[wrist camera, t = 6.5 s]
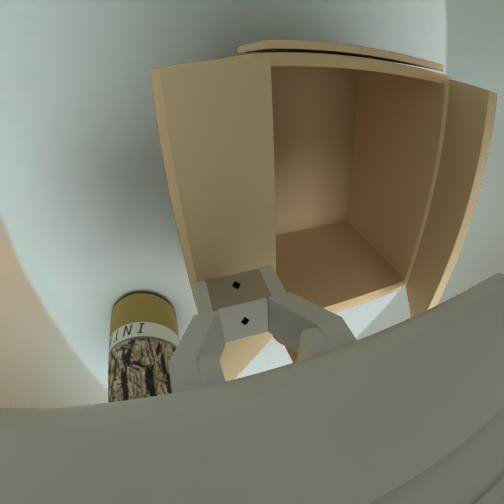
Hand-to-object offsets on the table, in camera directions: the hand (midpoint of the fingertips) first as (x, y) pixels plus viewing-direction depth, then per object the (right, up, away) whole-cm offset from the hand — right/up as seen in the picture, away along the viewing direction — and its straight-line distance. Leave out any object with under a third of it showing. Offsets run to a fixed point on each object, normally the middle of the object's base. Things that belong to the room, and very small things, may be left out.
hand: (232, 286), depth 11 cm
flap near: (+2, +2, +3) cm, 4 cm away
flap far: (+13, +5, +5) cm, 14 cm away
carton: (+4, +9, +12) cm, 16 cm away
